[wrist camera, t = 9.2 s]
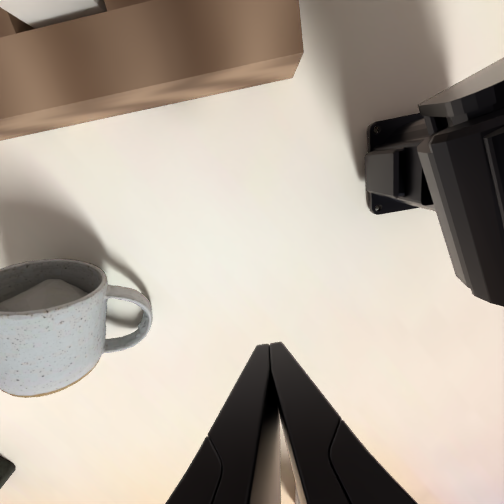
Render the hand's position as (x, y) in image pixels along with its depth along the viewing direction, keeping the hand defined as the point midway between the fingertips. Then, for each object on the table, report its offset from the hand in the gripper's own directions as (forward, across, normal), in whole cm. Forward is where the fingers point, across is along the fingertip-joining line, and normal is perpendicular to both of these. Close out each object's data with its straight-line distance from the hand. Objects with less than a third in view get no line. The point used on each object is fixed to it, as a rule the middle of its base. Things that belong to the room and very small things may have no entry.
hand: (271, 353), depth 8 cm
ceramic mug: (+13, +16, +3) cm, 21 cm away
